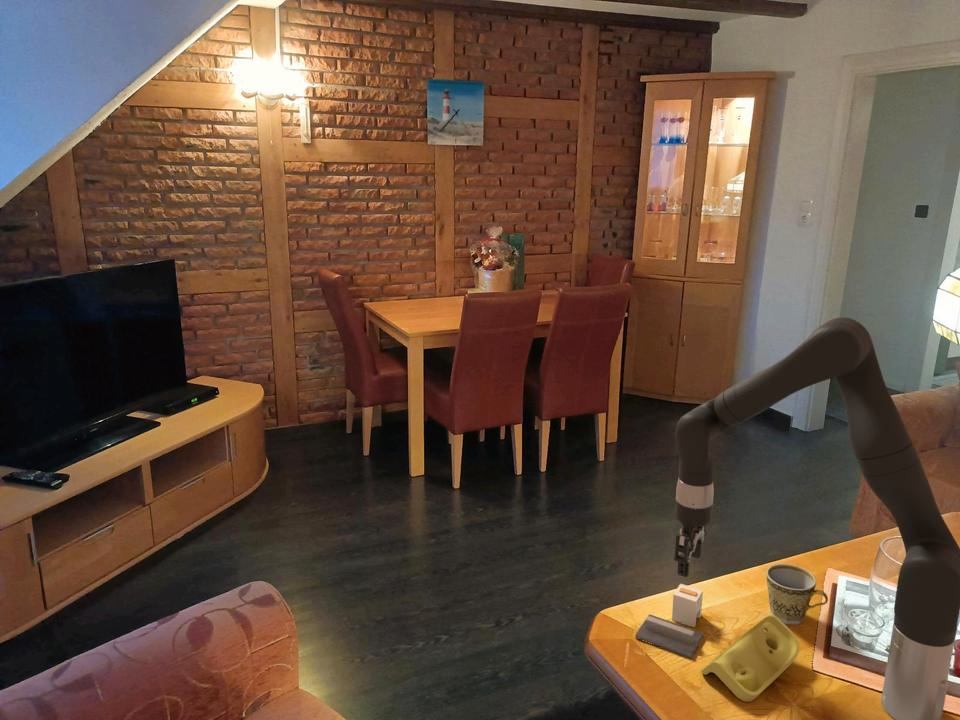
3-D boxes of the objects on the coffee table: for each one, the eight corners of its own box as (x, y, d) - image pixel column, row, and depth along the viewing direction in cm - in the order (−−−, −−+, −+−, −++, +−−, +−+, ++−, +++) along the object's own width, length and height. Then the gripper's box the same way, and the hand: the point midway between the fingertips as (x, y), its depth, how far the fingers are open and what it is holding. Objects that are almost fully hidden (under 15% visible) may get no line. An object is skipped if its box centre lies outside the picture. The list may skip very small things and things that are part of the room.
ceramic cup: (754, 615, 155) (758, 576, 152) (775, 596, 161) (779, 558, 158) (813, 643, 145) (818, 602, 143) (833, 622, 152) (838, 582, 149)
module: (701, 615, 155) (702, 589, 153) (694, 627, 151) (696, 600, 149) (679, 608, 158) (680, 582, 156) (671, 619, 154) (673, 593, 152)
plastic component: (752, 700, 128) (710, 655, 133) (735, 718, 132) (696, 674, 138) (808, 647, 139) (767, 608, 144) (791, 665, 143) (752, 626, 149)
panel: (703, 636, 148) (703, 624, 147) (691, 658, 142) (692, 646, 141) (649, 618, 155) (649, 606, 154) (635, 638, 148) (636, 626, 148)
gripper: (701, 517, 139) (696, 587, 143) (721, 489, 150) (716, 555, 155) (665, 507, 143) (661, 576, 147) (687, 481, 154) (682, 546, 159)
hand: (689, 565), depth 151 cm, fingers open, 8 cm apart
